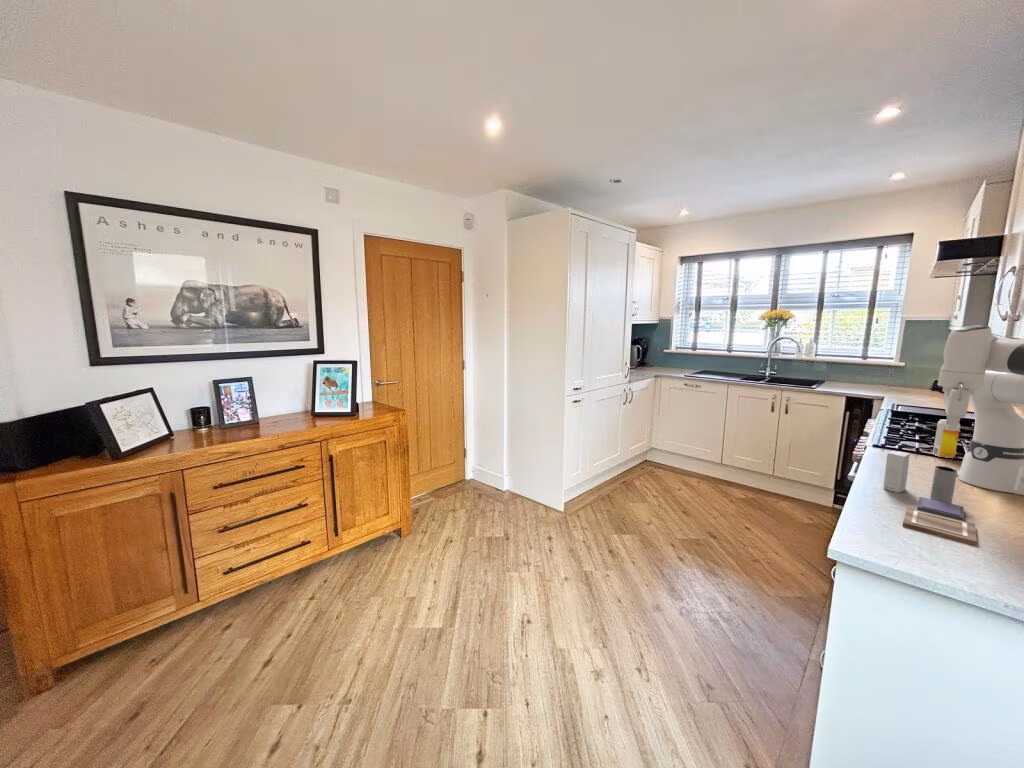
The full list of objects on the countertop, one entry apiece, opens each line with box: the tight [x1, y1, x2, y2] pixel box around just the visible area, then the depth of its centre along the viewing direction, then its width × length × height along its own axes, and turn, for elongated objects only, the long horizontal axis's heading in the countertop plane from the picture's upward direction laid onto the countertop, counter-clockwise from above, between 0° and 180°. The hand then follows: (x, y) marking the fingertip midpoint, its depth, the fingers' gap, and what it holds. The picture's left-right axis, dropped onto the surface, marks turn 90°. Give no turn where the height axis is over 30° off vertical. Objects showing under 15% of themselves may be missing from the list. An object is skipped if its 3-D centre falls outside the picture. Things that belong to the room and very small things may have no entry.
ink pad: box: [916, 496, 965, 521], centre depth 116 cm, size 10×9×2 cm
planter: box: [929, 465, 958, 504], centre depth 122 cm, size 4×4×10 cm
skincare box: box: [882, 450, 911, 493], centre depth 131 cm, size 6×4×12 cm
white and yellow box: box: [932, 418, 961, 459], centre depth 161 cm, size 6×6×15 cm
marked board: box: [902, 507, 978, 546], centre depth 107 cm, size 13×13×1 cm
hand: (950, 427), depth 120 cm, fingers open, 8 cm apart
